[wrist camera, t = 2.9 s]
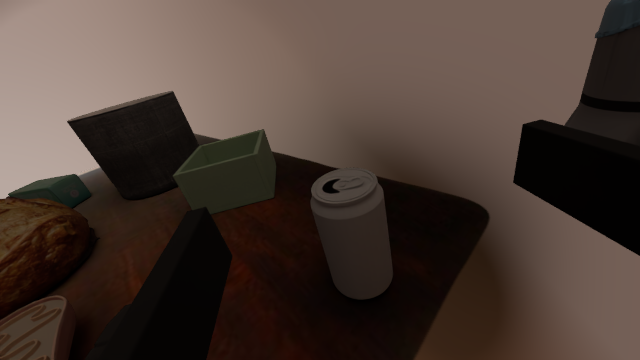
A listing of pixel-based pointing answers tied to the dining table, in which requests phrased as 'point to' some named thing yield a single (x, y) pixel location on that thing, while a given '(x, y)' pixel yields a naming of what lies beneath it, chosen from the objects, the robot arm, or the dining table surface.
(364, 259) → the beverage can
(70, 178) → the box
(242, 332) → the dining table surface
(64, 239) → the bread
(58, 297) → the anatomical model
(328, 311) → the dining table surface
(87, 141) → the planter
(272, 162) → the waste bin
